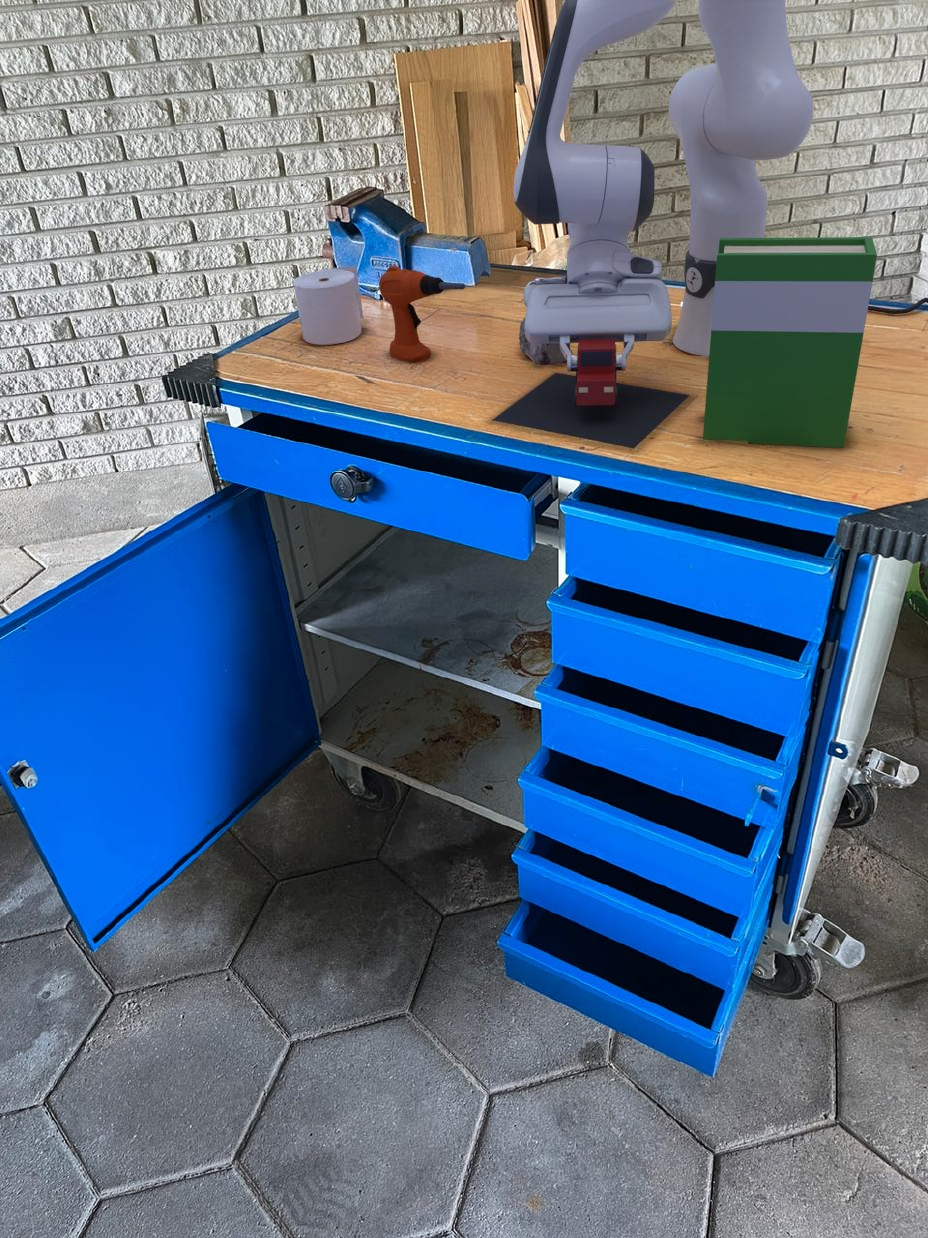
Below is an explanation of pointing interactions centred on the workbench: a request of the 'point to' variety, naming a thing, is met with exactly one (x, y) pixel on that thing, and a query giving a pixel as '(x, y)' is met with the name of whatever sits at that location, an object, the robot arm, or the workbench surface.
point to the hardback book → (787, 338)
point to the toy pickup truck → (596, 373)
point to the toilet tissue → (329, 305)
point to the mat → (592, 412)
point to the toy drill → (409, 308)
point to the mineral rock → (540, 349)
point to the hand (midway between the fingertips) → (596, 369)
